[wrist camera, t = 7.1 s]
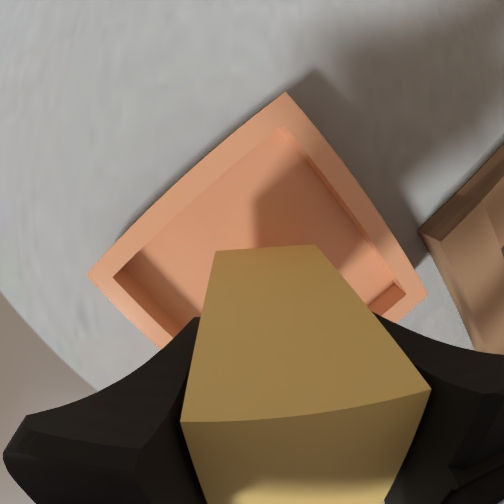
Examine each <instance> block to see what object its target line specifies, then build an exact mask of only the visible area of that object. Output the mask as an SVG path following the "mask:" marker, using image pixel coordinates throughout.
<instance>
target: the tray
mask: <svg viewBox="0 0 504 504" xmlns="http://www.w3.org/2000/svg"><path fill="white" fill-rule="evenodd" d="M311 244H315V245H316V246H317V247H318V248H319V249H320V250H321V252H322V253H323V254H324V255H325V256H326V257H327V259H328V260H329V261H330V262H331V263H332V265H333V266H334V267H335V268H336V269H337V270H338V272H339V273H340V274H341V275H342V276H343V278H344V279H345V280H346V281H347V282H348V284H349V285H350V286H351V287H352V288H353V290H354V291H355V292H356V293H357V294H358V296H359V297H360V298H361V299H362V300H363V302H364V303H365V304H366V305H367V307H368V308H369V309H370V310H371V311H372V312H374V313H376V314H378V315H380V316H382V317H384V318H386V319H388V320H390V321H392V322H394V323H396V322H398V321H399V320H400V319H401V318H402V317H404V316H405V315H406V314H407V313H408V312H409V311H411V310H412V309H413V308H414V307H415V306H416V305H417V304H419V303H420V302H421V301H422V300H423V299H424V298H425V297H426V296H428V293H427V291H426V289H425V287H424V286H423V284H422V282H421V280H420V279H419V277H418V275H417V273H416V272H415V270H414V268H413V267H412V265H411V263H410V261H409V260H408V258H407V256H406V255H405V253H404V251H403V250H402V248H401V247H400V245H399V243H398V242H397V240H396V239H395V237H394V235H393V234H392V232H391V231H390V229H389V228H388V226H387V224H386V223H385V221H384V220H383V218H382V217H381V215H380V214H379V212H378V211H377V209H376V208H375V206H374V205H373V203H372V202H371V200H370V199H369V198H368V196H367V195H366V193H365V192H364V190H363V189H362V188H361V186H360V185H359V183H358V182H357V181H356V179H355V178H354V176H353V175H352V174H351V172H350V171H349V170H348V168H347V167H346V165H345V164H344V163H343V161H342V160H341V159H340V157H339V156H338V155H337V154H336V152H335V151H334V150H333V148H332V147H331V146H330V144H329V143H328V142H327V141H326V139H325V138H324V137H323V136H322V134H321V133H320V132H319V131H318V129H317V128H316V127H315V126H314V124H313V123H312V122H311V121H310V120H309V118H308V117H307V116H306V115H305V114H304V112H303V111H302V110H301V109H300V108H299V106H298V105H297V104H296V103H295V102H294V101H293V99H292V98H291V97H290V96H289V95H288V94H287V93H286V92H284V93H283V94H282V95H280V96H279V97H278V98H276V99H275V100H274V101H273V102H271V103H270V104H269V105H267V106H266V107H265V108H264V109H262V110H261V111H260V112H258V113H257V114H256V115H255V116H253V117H252V118H251V119H250V120H248V121H247V122H246V123H245V124H243V125H242V126H241V127H240V128H239V129H237V130H236V131H235V132H234V133H233V134H231V135H230V136H229V137H228V138H227V139H225V140H224V141H223V142H222V143H221V144H219V145H218V146H217V147H216V148H215V149H214V150H212V151H211V152H210V153H209V154H208V155H207V156H206V157H204V158H203V159H202V160H201V161H200V162H199V163H198V164H196V165H195V166H194V167H193V168H192V169H191V170H190V171H189V172H188V173H186V174H185V175H184V176H183V177H182V178H181V179H180V180H179V181H178V182H177V183H176V184H174V185H173V186H172V187H171V188H170V189H169V190H168V191H167V192H166V193H165V194H164V195H163V196H162V197H161V198H160V199H159V200H158V201H156V202H155V203H154V204H153V205H152V206H151V207H150V208H149V209H148V210H147V211H146V212H145V213H144V214H143V215H142V216H141V217H140V218H139V219H138V220H137V221H136V222H135V223H134V224H133V225H132V226H131V227H130V228H129V229H128V230H127V231H126V232H125V233H124V234H123V235H122V236H121V237H120V238H119V239H118V241H117V242H116V243H115V244H114V245H113V246H112V247H111V248H110V249H109V250H108V251H107V252H106V253H105V254H104V255H103V256H102V258H101V259H100V260H99V261H98V262H97V263H96V264H95V265H94V266H93V267H92V268H91V270H90V271H89V272H88V273H87V274H86V275H87V276H88V278H89V279H90V280H91V281H92V282H93V283H94V284H95V285H96V286H97V287H98V288H99V289H100V290H101V291H102V293H103V294H104V295H105V296H106V297H107V298H108V299H109V300H110V301H111V302H112V303H113V304H114V305H115V306H116V307H117V308H118V309H119V310H120V311H121V312H122V313H123V314H124V315H125V316H126V317H127V318H128V319H129V320H130V321H131V322H132V323H133V324H134V325H135V326H136V327H137V328H138V329H139V330H140V331H141V332H142V333H144V334H145V335H146V336H147V337H148V338H149V339H150V340H151V341H152V342H153V343H154V344H155V345H156V346H158V347H159V348H160V349H162V348H164V347H165V346H166V345H167V344H168V343H169V342H170V341H171V340H172V339H173V338H174V337H175V336H176V335H177V334H178V333H179V332H180V331H181V330H182V329H183V328H184V327H185V326H186V325H187V324H188V323H189V322H190V321H191V320H192V319H193V318H194V317H201V313H202V309H203V304H204V300H205V295H206V290H207V286H208V281H209V277H210V272H211V268H212V264H213V259H214V255H215V251H220V250H235V249H250V248H265V247H281V246H296V245H311Z"/></svg>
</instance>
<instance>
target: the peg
mask: <svg viewBox="0 0 504 504" xmlns="http://www.w3.org/2000/svg"><path fill="white" fill-rule="evenodd" d="M430 392H431V388H430V386H429V385H428V384H427V382H426V381H425V380H424V378H423V377H422V376H421V374H420V373H419V372H418V370H417V369H416V368H415V366H414V365H413V364H412V362H411V361H410V360H409V358H408V357H407V356H406V355H405V353H404V352H403V351H402V349H401V348H400V347H399V346H398V344H397V343H396V342H395V340H394V339H393V338H392V337H391V335H390V334H389V333H388V332H387V330H386V329H385V328H384V326H383V325H382V324H381V323H380V321H379V320H378V319H377V318H376V316H375V315H374V314H373V313H372V312H371V310H370V309H369V308H368V307H367V305H366V304H365V303H364V302H363V300H362V299H361V298H360V297H359V296H358V294H357V293H356V292H355V291H354V290H353V288H352V287H351V286H350V285H349V284H348V282H347V281H346V280H345V279H344V278H343V276H342V275H341V274H340V273H339V272H338V270H337V269H336V268H335V267H334V266H333V265H332V263H331V262H330V261H329V260H328V259H327V257H326V256H325V255H324V254H323V253H322V252H321V250H320V249H319V248H318V247H317V246H316V245H315V244H311V245H296V246H281V247H265V248H250V249H235V250H220V251H215V255H214V259H213V264H212V268H211V272H210V277H209V281H208V286H207V290H206V295H205V300H204V304H203V309H202V313H201V318H200V323H199V328H198V332H197V337H196V342H195V347H194V352H193V357H192V362H191V367H190V372H189V377H188V382H187V387H186V392H185V398H184V403H183V408H182V414H181V419H180V423H181V427H182V430H183V433H184V437H185V440H186V443H187V446H188V449H189V453H190V456H191V459H192V462H193V465H194V468H195V471H196V473H197V476H198V479H199V482H200V485H201V488H202V490H203V493H204V496H205V498H206V501H207V504H380V503H383V501H384V499H385V497H386V495H387V493H388V492H389V490H390V488H391V486H392V484H393V482H394V480H395V478H396V476H397V474H398V472H399V470H400V467H401V465H402V463H403V461H404V459H405V457H406V454H407V452H408V450H409V447H410V445H411V443H412V440H413V438H414V436H415V433H416V431H417V428H418V425H419V423H420V420H421V418H422V415H423V412H424V409H425V407H426V404H427V401H428V398H429V395H430Z"/></svg>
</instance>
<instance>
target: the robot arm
mask: <svg viewBox="0 0 504 504" xmlns="http://www.w3.org/2000/svg"><path fill="white" fill-rule="evenodd" d="M371 312H372V311H371ZM372 313H373V314H374V315H375V316H376V318H377V319H378V320H379V321H380V323H381V324H382V325H383V326H384V328H385V329H386V330H387V332H388V333H389V334H390V335H391V337H392V338H393V339H394V340H395V342H396V343H397V344H398V346H399V347H400V348H401V349H402V351H403V352H404V353H405V355H406V356H407V357H408V358H409V360H410V361H411V362H412V364H413V365H414V366H415V368H416V369H417V370H418V372H419V373H420V374H421V376H422V377H423V378H424V380H425V381H426V382H427V384H428V385H429V386H430V388H431V392H430V395H429V398H428V401H427V404H426V407H425V409H424V412H423V415H422V418H421V420H420V423H419V425H418V428H417V431H416V433H415V436H414V438H413V440H412V443H411V445H410V447H409V450H408V452H407V454H406V457H405V459H404V461H403V463H402V465H401V467H400V470H399V472H398V474H397V476H396V478H395V480H394V482H393V484H392V486H391V488H390V490H389V492H388V493H387V495H386V497H385V499H384V501H385V504H504V355H502V354H492V353H485V352H479V351H474V350H469V349H464V348H460V347H456V346H452V345H449V344H446V343H443V342H440V341H436V340H433V339H431V338H428V337H425V336H423V335H420V334H418V333H416V332H413V331H411V330H409V329H407V328H404V327H402V326H400V325H398V324H396V323H394V322H392V321H390V320H388V319H386V318H384V317H382V316H380V315H378V314H376V313H374V312H372ZM200 318H201V317H194V318H193V319H192V320H191V321H190V322H189V323H188V324H187V325H186V326H185V327H184V328H183V329H182V330H181V331H180V332H179V333H178V334H177V335H176V336H175V337H174V338H173V339H172V340H171V341H170V342H169V343H168V344H167V345H166V346H165V347H164V348H162V349H161V350H160V351H159V352H158V353H157V354H156V355H154V356H153V357H152V358H151V359H150V360H149V361H147V362H146V363H145V364H143V365H142V366H141V367H139V368H138V369H137V370H135V371H134V372H132V373H131V374H129V375H128V376H126V377H124V378H123V379H121V380H119V381H118V382H116V383H114V384H112V385H110V386H108V387H106V388H104V389H103V390H101V391H99V392H97V393H95V394H92V395H90V396H88V397H86V398H83V399H81V400H78V401H76V402H73V403H70V404H67V405H64V406H61V407H58V408H54V409H50V410H46V411H42V412H39V413H35V414H30V415H26V417H25V418H24V420H23V421H22V423H21V424H20V426H19V428H18V429H17V431H16V432H15V434H14V436H13V437H12V439H11V440H10V442H9V443H8V445H7V447H6V449H5V450H4V452H3V461H4V463H5V466H6V468H7V470H8V472H9V473H10V475H11V476H12V477H13V479H14V480H15V481H16V482H17V484H18V485H19V486H20V487H21V488H22V489H23V490H24V491H25V492H26V494H27V495H28V496H29V497H30V498H31V499H32V500H33V501H34V502H35V503H36V504H207V501H206V498H205V496H204V493H203V490H202V488H201V485H200V482H199V479H198V476H197V473H196V471H195V468H194V465H193V462H192V459H191V456H190V453H189V449H188V446H187V443H186V440H185V437H184V433H183V430H182V427H181V423H180V419H181V414H182V408H183V403H184V398H185V392H186V387H187V382H188V377H189V372H190V367H191V362H192V357H193V352H194V347H195V342H196V337H197V332H198V328H199V323H200Z"/></svg>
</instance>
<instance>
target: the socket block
mask: <svg viewBox="0 0 504 504" xmlns="http://www.w3.org/2000/svg"><path fill="white" fill-rule="evenodd" d="M417 231H418V233H419V235H420V237H421V238H422V240H423V242H424V244H425V245H426V247H427V249H428V251H429V253H430V255H431V257H432V258H433V260H434V262H435V264H436V266H437V268H438V270H439V272H440V274H441V276H442V278H443V280H444V282H445V284H446V286H447V288H448V290H449V292H450V294H451V296H452V298H453V300H454V303H455V305H456V307H457V309H458V311H459V314H460V316H461V318H462V320H463V323H464V325H465V327H466V330H467V332H468V335H469V337H470V339H471V342H472V344H473V347H474V349H475V351H479V352H485V353H492V354H502V355H504V257H503V254H502V251H501V248H502V247H503V246H504V144H503V145H502V146H501V147H500V148H499V149H498V150H497V151H496V152H495V153H494V155H493V156H492V157H491V158H490V159H489V160H488V161H487V162H486V163H485V164H484V165H483V166H482V167H481V168H480V169H479V171H478V172H477V173H476V174H475V175H474V176H473V177H472V178H471V179H470V180H469V181H468V182H467V183H466V184H465V185H464V186H463V187H462V188H461V189H460V190H459V191H458V192H457V193H456V194H455V195H454V196H453V197H452V198H451V199H450V200H449V201H448V202H447V203H446V204H445V205H444V206H443V207H441V208H440V209H439V210H438V211H437V212H436V213H435V214H434V215H433V216H432V217H431V218H430V219H429V220H428V221H427V222H426V223H425V224H423V225H422V226H421V227H420V228H419V229H418V230H417Z"/></svg>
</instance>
